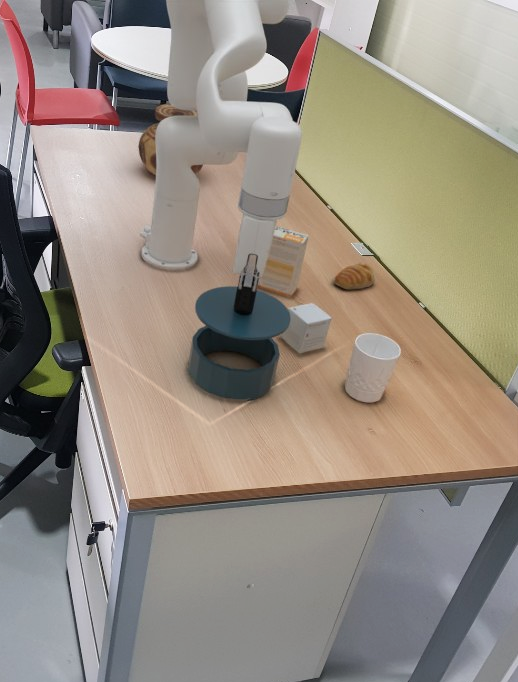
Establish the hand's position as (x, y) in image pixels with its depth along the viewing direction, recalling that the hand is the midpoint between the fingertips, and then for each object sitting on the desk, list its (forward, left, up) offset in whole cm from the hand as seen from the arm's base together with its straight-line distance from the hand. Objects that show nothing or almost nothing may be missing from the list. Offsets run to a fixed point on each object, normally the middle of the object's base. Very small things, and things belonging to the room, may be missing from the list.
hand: (244, 302), depth 125 cm
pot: (0, 0, -15) cm, 15 cm away
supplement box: (-15, +32, -15) cm, 39 cm away
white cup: (+18, +16, -15) cm, 29 cm away
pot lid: (0, 0, -2) cm, 2 cm away
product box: (+2, +19, -15) cm, 25 cm away
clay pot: (-73, +57, -15) cm, 94 cm away
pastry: (-6, +49, -15) cm, 52 cm away
